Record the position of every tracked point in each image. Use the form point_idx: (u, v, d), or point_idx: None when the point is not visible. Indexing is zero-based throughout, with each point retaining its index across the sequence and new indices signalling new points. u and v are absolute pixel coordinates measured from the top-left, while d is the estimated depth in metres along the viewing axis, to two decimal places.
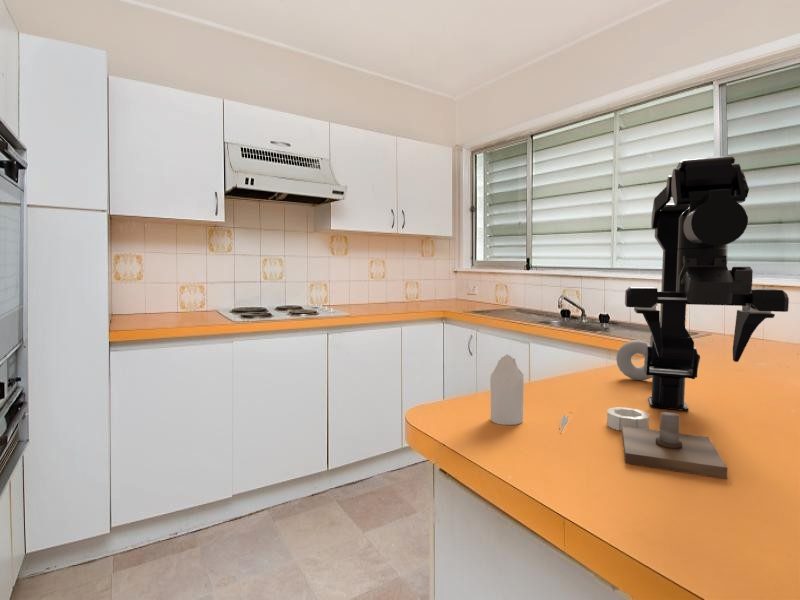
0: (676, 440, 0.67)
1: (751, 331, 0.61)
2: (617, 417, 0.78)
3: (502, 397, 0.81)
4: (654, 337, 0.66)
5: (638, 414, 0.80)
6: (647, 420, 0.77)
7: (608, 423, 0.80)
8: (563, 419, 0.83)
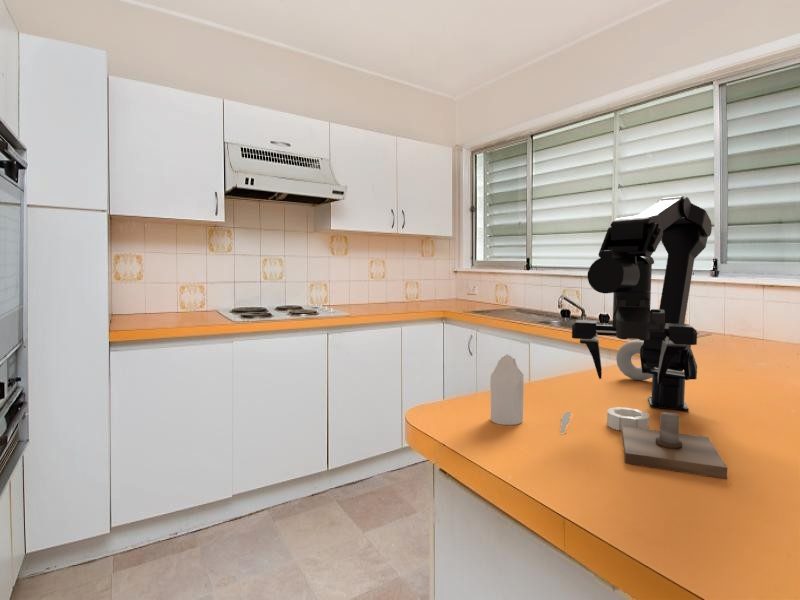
0: (676, 440, 0.67)
1: (670, 359, 0.76)
2: (617, 417, 0.78)
3: (502, 397, 0.81)
4: (595, 363, 0.81)
5: (638, 414, 0.80)
6: (647, 420, 0.77)
7: (608, 423, 0.80)
8: (564, 419, 0.83)
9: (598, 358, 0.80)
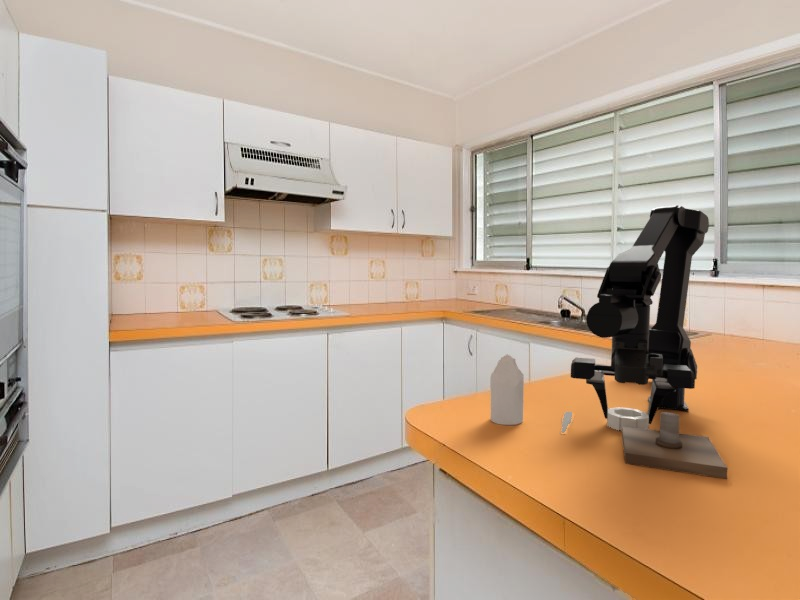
0: (676, 440, 0.67)
1: (659, 400, 0.76)
2: (617, 417, 0.78)
3: (502, 397, 0.81)
4: (601, 403, 0.80)
5: (638, 414, 0.80)
6: (647, 420, 0.77)
7: (608, 423, 0.80)
8: (565, 419, 0.83)
9: (604, 398, 0.80)
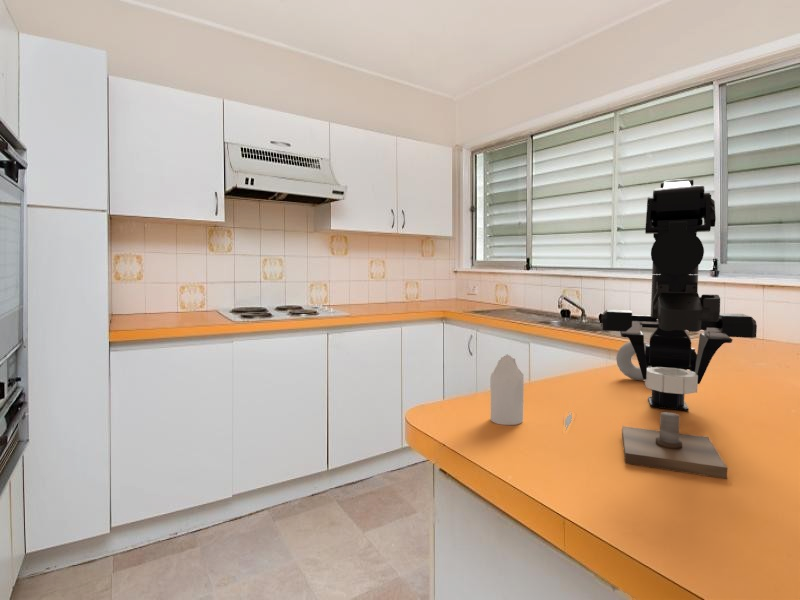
0: (676, 440, 0.67)
1: (711, 355, 0.64)
2: (659, 375, 0.65)
3: (502, 397, 0.81)
4: (639, 360, 0.68)
5: (683, 373, 0.68)
6: (696, 379, 0.65)
7: (647, 384, 0.67)
8: (566, 419, 0.83)
9: (643, 355, 0.67)
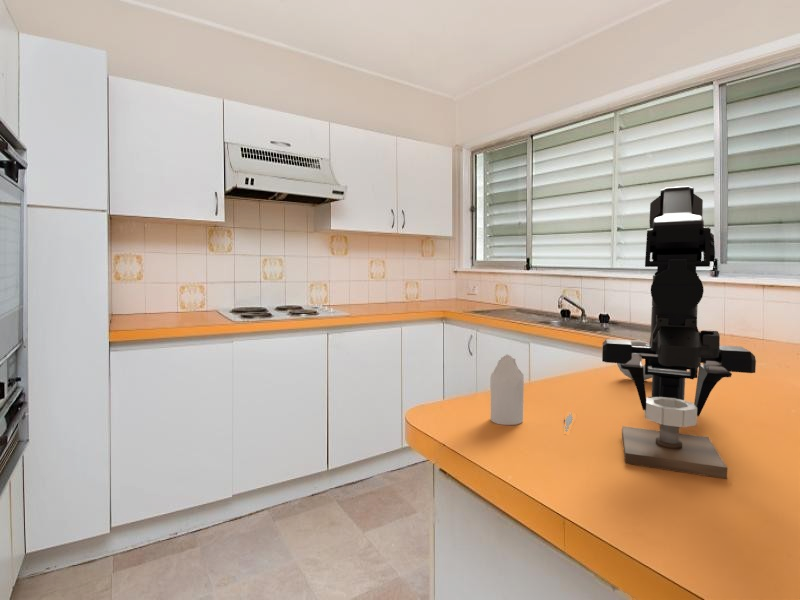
0: (676, 440, 0.67)
1: (710, 388, 0.64)
2: (659, 408, 0.66)
3: (502, 397, 0.81)
4: (638, 391, 0.68)
5: (682, 405, 0.68)
6: (695, 411, 0.65)
7: (647, 415, 0.67)
8: (567, 420, 0.83)
9: (643, 386, 0.68)
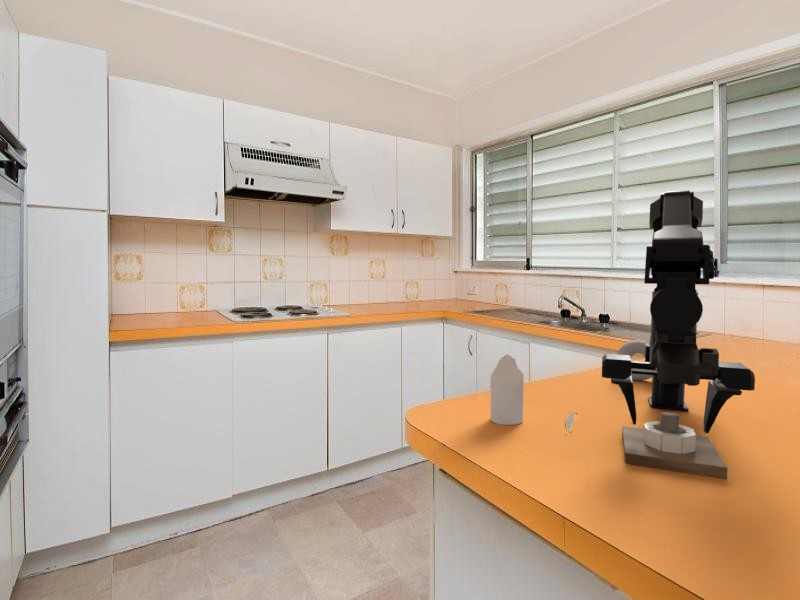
0: None
1: (720, 406, 0.64)
2: (658, 434, 0.66)
3: (502, 397, 0.81)
4: (628, 406, 0.69)
5: (681, 430, 0.68)
6: (694, 438, 0.65)
7: (646, 441, 0.68)
8: (568, 420, 0.83)
9: (633, 401, 0.68)
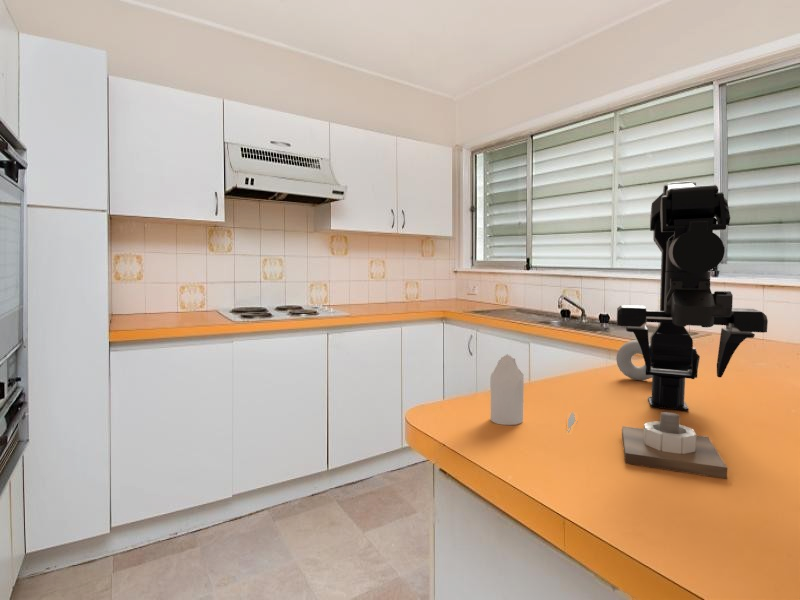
0: None
1: (733, 349, 0.66)
2: (658, 434, 0.66)
3: (502, 397, 0.81)
4: (643, 353, 0.71)
5: (681, 430, 0.68)
6: (694, 438, 0.65)
7: (646, 441, 0.68)
8: (569, 420, 0.83)
9: (647, 348, 0.70)
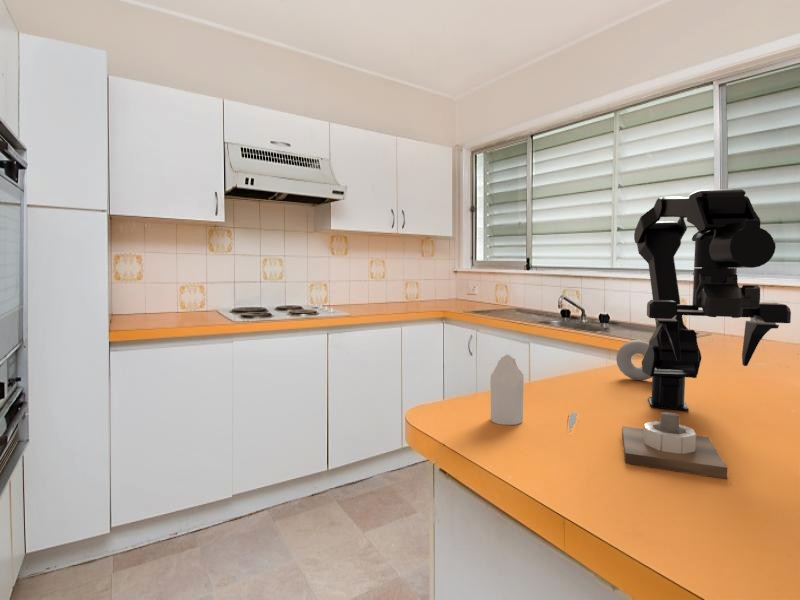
0: None
1: (758, 339, 0.71)
2: (658, 434, 0.66)
3: (502, 397, 0.81)
4: (673, 344, 0.76)
5: (681, 430, 0.68)
6: (694, 438, 0.65)
7: (646, 441, 0.68)
8: (570, 420, 0.83)
9: (677, 339, 0.76)
